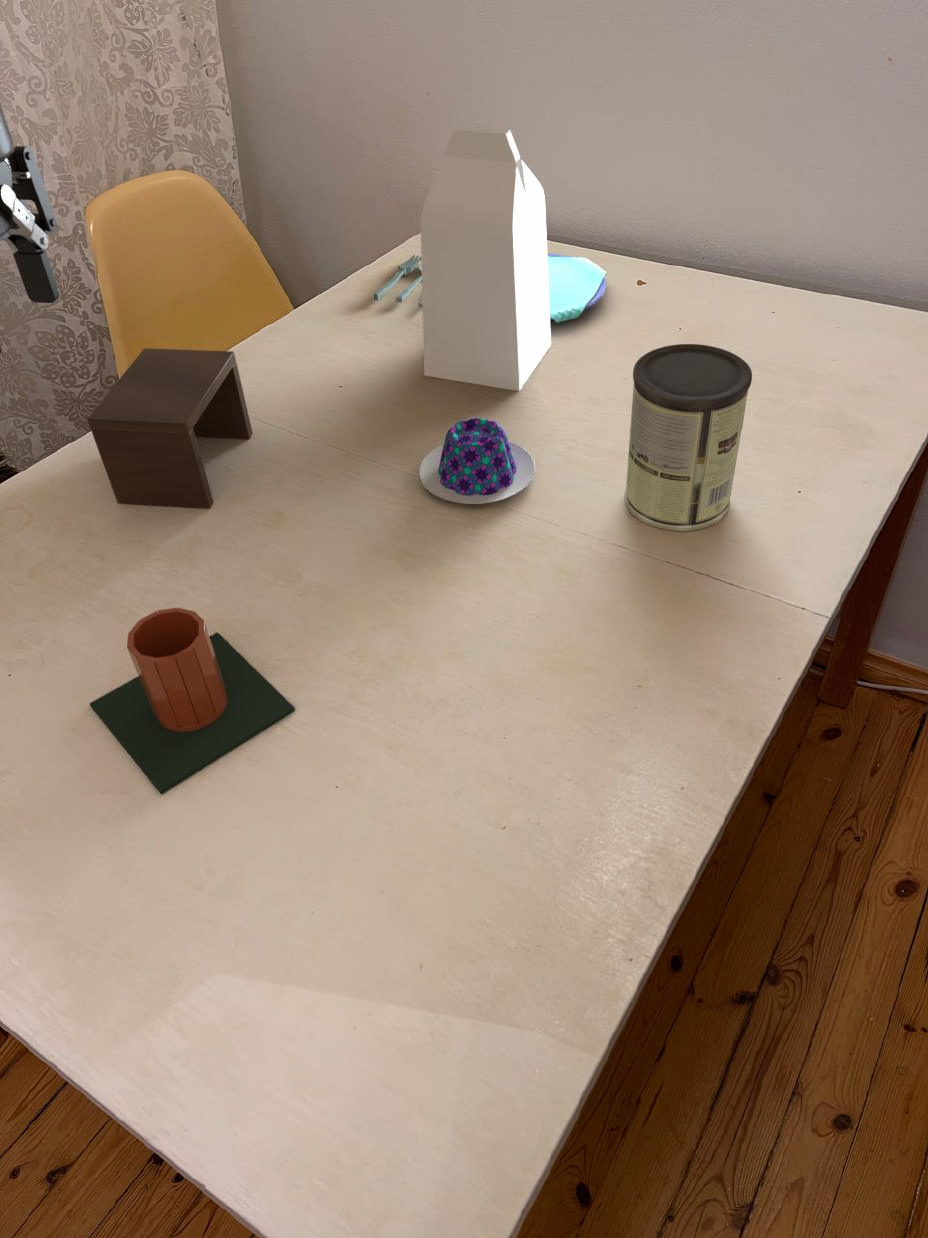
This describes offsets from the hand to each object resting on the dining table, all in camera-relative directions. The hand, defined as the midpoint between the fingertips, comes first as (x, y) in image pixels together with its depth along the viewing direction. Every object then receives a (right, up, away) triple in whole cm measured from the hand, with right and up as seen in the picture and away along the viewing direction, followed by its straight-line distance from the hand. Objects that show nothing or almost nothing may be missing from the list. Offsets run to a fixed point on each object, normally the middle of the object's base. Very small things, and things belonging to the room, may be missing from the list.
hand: (17, 327), depth 70 cm
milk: (+35, +10, +47) cm, 60 cm away
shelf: (+3, -5, +33) cm, 34 cm away
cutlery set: (+37, +23, +60) cm, 74 cm away
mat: (+10, -28, +8) cm, 31 cm away
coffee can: (+53, -10, +25) cm, 60 cm away
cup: (+11, -28, +8) cm, 31 cm away
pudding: (+34, -6, +30) cm, 45 cm away
